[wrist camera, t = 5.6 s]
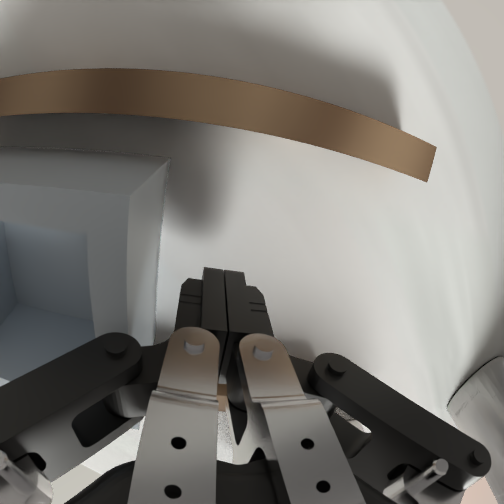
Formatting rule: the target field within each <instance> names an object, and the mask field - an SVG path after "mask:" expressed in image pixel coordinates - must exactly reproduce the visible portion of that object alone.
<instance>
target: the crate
mask: <svg viewBox="0 0 504 504" xmlns="http://www.w3.org/2000/svg"><path fill="white" fill-rule="evenodd" d="M170 159H171V158H167V157H159V156H150V155H142V154H132V153H122V152H111V151H98V150H84V149H66V148H39V147H0V386H2V385H4V384H6V383H8V382H10V381H12V380H14V379H16V378H18V377H20V376H22V375H24V374H26V373H28V372H30V371H32V370H34V369H36V368H38V367H40V366H42V365H44V364H46V363H48V362H50V361H52V360H54V359H56V358H58V357H60V356H62V355H64V354H66V353H67V352H69V351H71V350H73V349H75V348H77V347H79V346H81V345H83V344H85V343H87V342H89V341H91V340H93V339H95V338H97V337H99V336H101V335H103V334H106V333H111V332H120V333H125V334H128V335H130V336H132V337H134V338H135V339H136V340H137V341H138V342H139V344H140V346H150V345H154V340H155V335H156V301H157V282H158V266H159V253H160V241H161V231H162V221H163V212H164V203H165V195H166V187H167V180H168V173H169V166H170ZM139 426H140V422H138V423H137V424H136V425H134V426H133V427H132V428H133V429H138V430H139Z"/></svg>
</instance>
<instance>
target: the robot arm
mask: <svg viewBox="0 0 504 504" xmlns="http://www.w3.org/2000/svg"><path fill="white" fill-rule="evenodd" d="M217 379H218V384H227V394H226V398H225V409H226V415H227V421H228V426H229V432H230V437H231V443H232V449H233V461H232V464H231V463H227V462H223V461H219V460H217V434H218V409H219V404H218V400H216V397H217ZM338 407H339V408H340V409H341V410H343V411H344V412H346V413H347V414H348V415H350V416H351V417H353V418H354V419H356V420H357V421H359V422H360V423H361V424H363V425H364V426H366V427H367V428H369V429H370V431H371V433H365V432H363V431H361V430H359V429H358V428H357V427H355V426H354V425H352V424H351V423H349V422H348V421H347V420H345V419H344V418H342V417H341V416H340V415H338V414H337V413H335V411H336V410H337V408H338ZM447 411H448V412H449V414H450V415H451V417H452V419H453V420H454V422H455V424H456V426H457V427H458V429H459V430H458V429H456V428H455V427H453V426H451V425H450V424H448V423H446V422H445V421H443V420H441V419H440V418H438V417H437V416H435V415H433V414H432V413H430V412H429V411H427V410H425V409H424V408H422V407H421V406H419V405H417V404H416V403H414V402H413V401H411V400H409V399H408V398H406V397H405V396H403V395H402V394H400V393H398V392H397V391H395V390H394V389H392V388H391V387H389V386H388V385H386V384H385V383H383V382H382V381H380V380H378V379H377V378H375V377H374V376H372V375H371V374H369V373H368V372H366V371H365V370H363V369H362V368H360V367H359V366H357V365H356V364H354V363H353V362H351V361H350V360H348V359H347V358H345V357H343V356H341V355H338V354H334V353H324V354H321V355H319V356H318V357H317V358H316V359H315V361H314V363H313V362H309V361H305V360H302V359H298V358H295V357H292V356H290V355H288V353H287V350H286V348H285V346H284V345H283V344H282V343H281V342H280V341H279V340H277V339H276V338H274V335H273V331H272V327H271V323H270V319H269V316H268V313H267V308H266V305H265V300H264V296H263V294H262V293H261V292H260V291H259V290H258V289H257V288H256V287H254V286H246V282H245V276H244V272H237V271H230V270H224V272H223V270H222V269H215V268H207V267H204V270H203V276H202V280H199V279H191V278H188V279H187V280H186V281H185V282H184V283H183V284H182V286H181V292H180V298H179V304H178V310H177V317H176V323H175V330H174V332H173V333H172V335H171V336H170V338H169V339H168V340H167V341H165V342H163V343H160V344H157V345H150V346H140V344H139V342H138V341H137V340H136V339H135V338H134V337H132V336H130V335H128V334H125V333H120V332H111V333H106V334H103V335H101V336H99V337H97V338H95V339H93V340H91V341H89V342H87V343H85V344H83V345H81V346H79V347H77V348H75V349H73V350H71V351H69V352H67V353H66V354H64V355H62V356H60V357H58V358H56V359H54V360H52V361H50V362H48V363H46V364H44V365H42V366H40V367H38V368H36V369H34V370H32V371H30V372H28V373H26V374H24V375H22V376H20V377H18V378H16V379H14V380H12V381H10V382H8V383H6V384H4V385H2V386H0V504H51V502H52V499H53V488H52V485H51V482H53V481H54V480H56V479H57V478H59V477H61V476H62V475H64V474H65V473H67V472H68V471H70V470H71V469H73V468H74V467H76V466H77V465H79V464H81V463H82V462H83V461H85V460H86V459H88V458H89V457H91V456H92V455H94V454H95V453H97V452H98V451H100V450H101V449H102V448H104V447H105V446H107V445H108V444H110V443H111V442H112V441H114V440H115V439H117V438H118V437H119V436H121V435H122V434H124V433H125V432H126V431H128V430H129V429H130V428H132V427H133V426H134V425H136V424H137V423H138V422H140V421H141V420H142V419H143V417H144V416H146V417H145V421H144V425H143V429H142V434H141V438H140V443H139V447H138V452H137V457H136V460H135V461H131V462H127V463H124V464H121V465H119V466H116V467H114V468H112V469H111V470H109V471H107V472H106V473H104V474H103V475H102V476H101V477H99V478H98V479H97V480H95V481H94V482H93V483H91V484H90V485H89V486H87V487H86V488H85V489H83V490H82V491H81V492H79V493H78V494H77V495H76V496H74V497H73V498H71V499H70V500H69V501H67V502H66V503H64V504H460V503H461V500H462V497H463V495H464V492H465V490H466V489H467V488H468V487H470V486H471V485H473V484H474V483H475V482H477V481H478V480H479V479H481V478H482V477H484V476H485V478H486V480H487V482H488V484H489V486H490V488H491V490H492V492H493V494H494V496H495V497H496V500H497V502H498V504H504V357H497V358H495V359H493V360H492V361H490V362H489V363H487V364H486V365H485V366H483V367H482V368H481V369H480V370H479V371H477V372H476V373H475V374H474V375H473V376H472V377H471V378H470V379H469V380H468V381H467V382H466V383H465V384H464V385H463V386H462V387H461V388H460V389H459V390H458V392H457V393H456V394H455V395H454V397H453V398H452V399H451V401H450V403H449V405H448V407H447Z"/></svg>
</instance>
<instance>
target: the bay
mask: <svg viewBox="0 0 504 504" xmlns="http://www.w3.org/2000/svg"><path fill="white" fill-rule="evenodd" d="M38 113H107V114H126V115H140V116H151V117H162V118H171V119H179V120H187V121H195V122H202V123H208V124H215V125H221V126H227V127H233V128H238V129H244V130H249V131H254V132H259V133H264V134H268V135H273V136H278V137H282V138H286V139H291V140H295V141H299V142H303V143H307V144H311V145H315V146H318V147H322V148H326V149H329V150H333V151H336V152H340V153H343V154H347V155H350V156H353V157H356V158H360V159H363V160H366V161H369V162H372V163H375V164H378V165H381V166H384V167H387V168H390V169H393V170H395V171H398V172H401V173H404V174H406V175H409V176H412V177H414V178H417V179H420V180H422V181H425V182H427V181H428V178H429V174H430V171H431V167H432V163H433V159H434V156H435V152H436V148H437V147H435V146H433V145H431V144H429V143H427V142H425V141H423V140H421V139H419V138H417V137H415V136H412V135H410V134H408V133H406V132H404V131H401V130H399V129H397V128H394V127H392V126H390V125H387V124H385V123H382V122H380V121H377V120H375V119H372V118H370V117H367V116H364V115H362V114H359V113H356V112H353V111H350V110H348V109H345V108H342V107H339V106H336V105H333V104H330V103H326V102H323V101H320V100H317V99H313V98H310V97H306V96H303V95H299V94H295V93H292V92H288V91H284V90H280V89H276V88H271V87H267V86H263V85H258V84H253V83H248V82H243V81H238V80H233V79H227V78H221V77H214V76H208V75H200V74H192V73H184V72H174V71H162V70H148V69H121V68H99V69H73V70H59V71H48V72H39V73H31V74H24V75H18V76H12V77H6V78H1V79H0V116H8V115H20V114H38ZM226 394H227V384H218V379H217V397H216V400H218V404H219V409H218V411H225V412H226V409H225V398H226Z"/></svg>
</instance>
